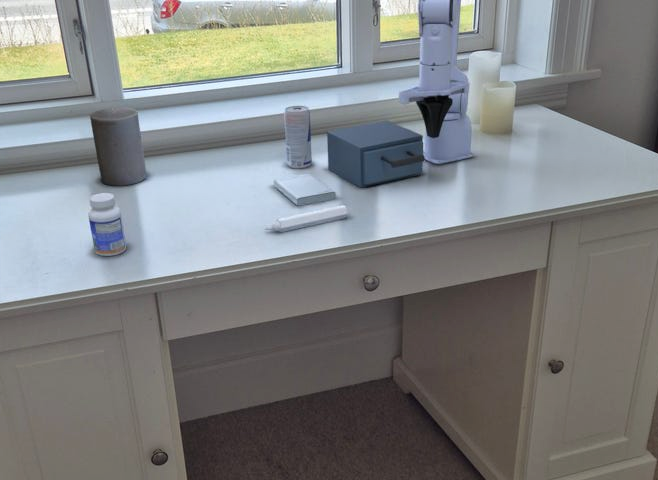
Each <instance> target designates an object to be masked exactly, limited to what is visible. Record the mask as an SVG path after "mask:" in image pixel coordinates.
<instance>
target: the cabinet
mask: <svg viewBox="0 0 658 480" xmlns="http://www.w3.org/2000/svg"><path fill="white" fill-rule="evenodd" d="M326 135H327V136H326V137H327V138H326V140H327V143H326V144H327V167H328V171H330V172H331V173H334V174H335V175H337V176H339V177H341V178H342V179H344V180H345V181H348V182H349V183H351V184H353V185H355V186H357V187H359V189H360V188H367V187H370V186H371V187H372V186H374V185H379V184H384V183H389V182H393V181H394V182H395V181H397V180H402V179H407V178H411V177H412V178H413V177H415V176H416V177H417V176H420V175H422V174H423V172H421V173H416V174H412V175H407V176H403V177H398V178H394V179H389V180H385V181H380V182H376V183H371V184H367V185H366V184H364V183H363V152H364V151H367V150H372V149H377V148H382V147H387V146H392V145H397V144H402V143H407V142H412V141H414V142H415V141H423V140H424V139H423V138H424V136H423V135H422V134H421V133H419V132H416V131H413V130H411V129H409V128H407V127H404V126H402V125H399V124H397V123H394V122H393V121H390V120H381V121H376V122H370V123H366V124H365V123H364V124H360V125H355V126H354V125H353V126H349V127H344V128H338V129H334V130H327V131H326ZM423 142H424V141H423Z"/></svg>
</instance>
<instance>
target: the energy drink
mask: <svg viewBox="0 0 658 480" xmlns="http://www.w3.org/2000/svg"><path fill="white" fill-rule="evenodd" d="M283 115H284V117H283V118H284V131H285V132H284V133H285V134H284V135H285V136H284V137H285V153H286V165H287V166H288V167H289V168H291V169H305V168H309V167H310V166H311V165H312V164H313V161H312V160H313V158H312V156H313V155H312V137H311V135H312V134H311V112H310V109H309V107H308V106H306V105H291V106H288V107H285V108H284V113H283Z"/></svg>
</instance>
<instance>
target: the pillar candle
mask: <svg viewBox="0 0 658 480" xmlns="http://www.w3.org/2000/svg"><path fill="white" fill-rule="evenodd" d="M89 119H90V124H91V130H92V136H93V143H94V148H95V151H96V152H95V153H96V159H97V164H98V169H99V174H100V182H101V183H102V184H103V185H107V186H116V187H122V186H130V185H134V184H137V183H141V182H142V181H145V179H147V176H148V175H147V169H146V160H145V153H144V147H143V140H142V133H141V127H140V120H139V113H138V110H136V109H134V108H131V107H113V106H111V107H110V108H109V107H108V108H104V109H100V110H97V111H94V112H92V113H91V114H90V115H89Z"/></svg>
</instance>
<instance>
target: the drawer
mask: <svg viewBox="0 0 658 480" xmlns="http://www.w3.org/2000/svg"><path fill="white" fill-rule="evenodd" d="M423 152H424V141H415V142H414V141H412V142H407V143H402V144H397V145H392V146H387V147H382V148H377V149H372V150H367V151H364V152H363V183H364V184H366V185H367V184H371V183H376V182H380V181H385V180H389V179H394V178H398V177H403V176H407V175H412V174H416V173H421V172H422V173H423V171H424V170H423V169H424V162H425V160H426V159H425V157H424V155H423Z"/></svg>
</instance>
